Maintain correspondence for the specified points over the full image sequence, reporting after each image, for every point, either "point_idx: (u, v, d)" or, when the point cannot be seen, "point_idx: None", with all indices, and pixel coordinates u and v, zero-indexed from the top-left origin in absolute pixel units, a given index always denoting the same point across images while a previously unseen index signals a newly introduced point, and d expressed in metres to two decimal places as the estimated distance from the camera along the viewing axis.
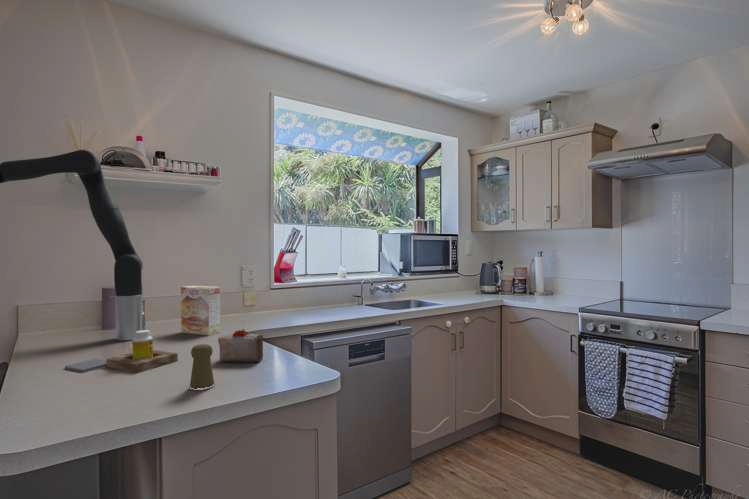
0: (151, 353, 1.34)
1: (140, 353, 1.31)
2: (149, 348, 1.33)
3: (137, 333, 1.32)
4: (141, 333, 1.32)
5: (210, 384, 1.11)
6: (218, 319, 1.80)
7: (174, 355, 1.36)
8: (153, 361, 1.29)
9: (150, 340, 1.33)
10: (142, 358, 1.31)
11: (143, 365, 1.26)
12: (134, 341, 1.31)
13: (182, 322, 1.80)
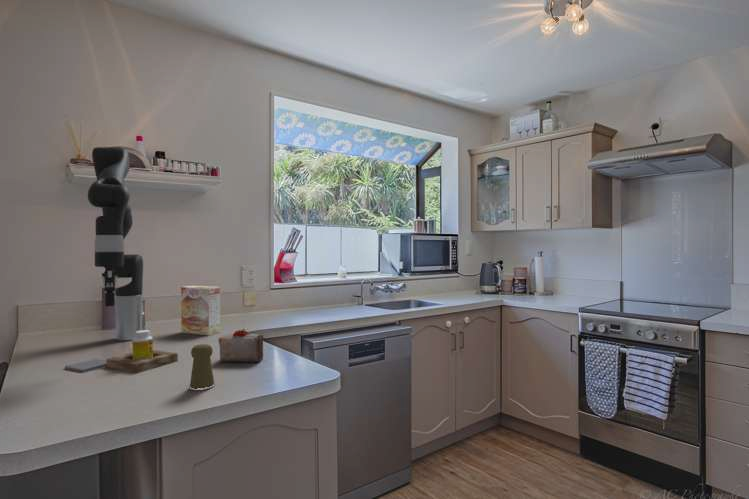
0: (151, 353, 1.34)
1: (140, 353, 1.31)
2: (149, 348, 1.33)
3: (137, 333, 1.32)
4: (141, 333, 1.32)
5: (210, 384, 1.11)
6: (218, 319, 1.80)
7: (174, 355, 1.36)
8: (153, 361, 1.29)
9: (150, 340, 1.33)
10: (142, 358, 1.31)
11: (143, 365, 1.26)
12: (134, 341, 1.31)
13: (182, 322, 1.80)
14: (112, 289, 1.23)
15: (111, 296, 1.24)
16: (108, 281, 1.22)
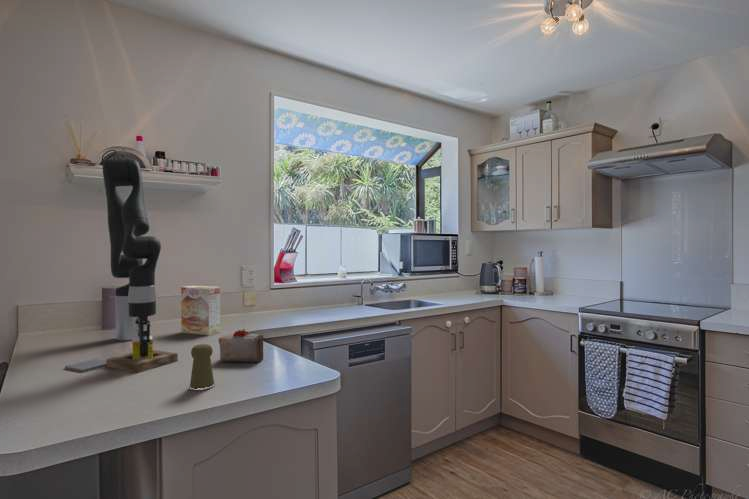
0: (151, 353, 1.34)
1: None
2: (149, 348, 1.33)
3: None
4: None
5: (210, 384, 1.11)
6: (218, 319, 1.80)
7: (174, 355, 1.36)
8: (153, 361, 1.29)
9: (150, 340, 1.33)
10: (142, 358, 1.31)
11: (143, 365, 1.26)
12: (134, 341, 1.31)
13: (182, 322, 1.80)
14: (147, 341, 1.29)
15: (145, 347, 1.31)
16: (143, 335, 1.28)
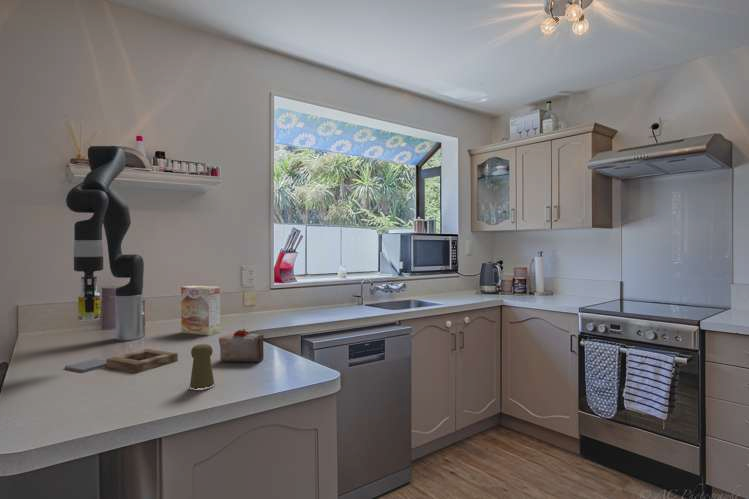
0: (98, 309, 1.31)
1: None
2: (96, 304, 1.30)
3: None
4: None
5: (210, 384, 1.11)
6: (218, 319, 1.80)
7: (174, 355, 1.36)
8: (153, 361, 1.29)
9: (96, 296, 1.30)
10: (87, 314, 1.28)
11: (143, 365, 1.26)
12: (79, 296, 1.28)
13: (182, 322, 1.80)
14: (92, 296, 1.26)
15: (91, 302, 1.28)
16: (88, 289, 1.25)
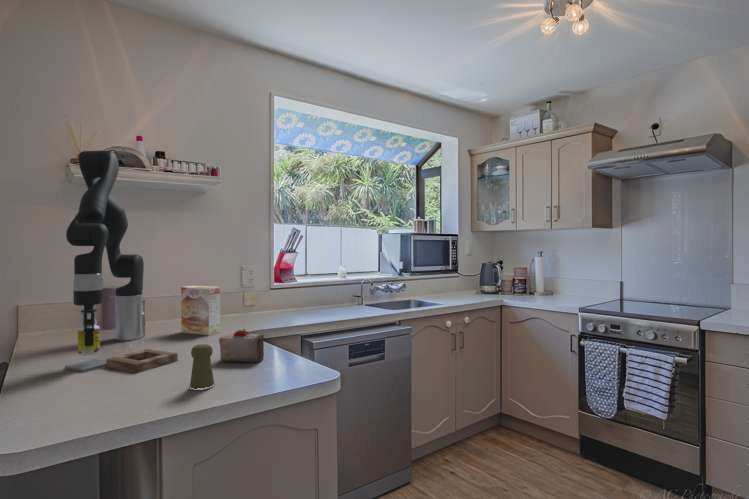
0: (97, 343, 1.31)
1: None
2: (95, 337, 1.30)
3: None
4: None
5: (210, 384, 1.11)
6: (218, 319, 1.80)
7: (174, 355, 1.36)
8: (153, 361, 1.29)
9: (96, 329, 1.30)
10: (87, 347, 1.28)
11: (143, 365, 1.26)
12: (79, 330, 1.28)
13: (182, 322, 1.80)
14: (91, 330, 1.26)
15: (90, 336, 1.28)
16: (87, 323, 1.25)
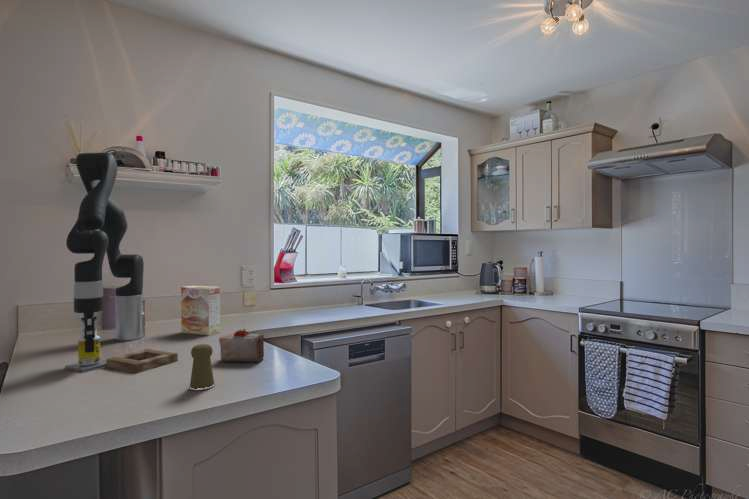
0: (98, 353, 1.31)
1: (85, 352, 1.28)
2: (96, 347, 1.30)
3: None
4: None
5: (210, 384, 1.11)
6: (218, 319, 1.80)
7: (174, 355, 1.36)
8: (153, 361, 1.29)
9: (96, 339, 1.30)
10: (88, 358, 1.28)
11: (143, 365, 1.26)
12: (79, 340, 1.28)
13: (182, 322, 1.80)
14: (92, 336, 1.25)
15: (91, 343, 1.27)
16: (88, 329, 1.25)
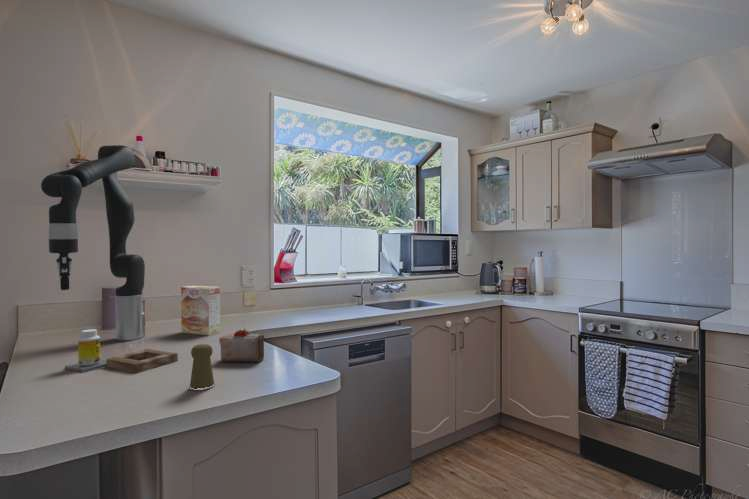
0: (98, 353, 1.31)
1: (85, 353, 1.28)
2: (96, 347, 1.30)
3: (83, 332, 1.29)
4: (87, 332, 1.29)
5: (210, 384, 1.11)
6: (218, 319, 1.80)
7: (174, 355, 1.36)
8: (153, 361, 1.29)
9: (97, 339, 1.30)
10: (88, 358, 1.28)
11: (143, 365, 1.26)
12: (79, 340, 1.28)
13: (182, 322, 1.80)
14: (67, 274, 1.32)
15: (66, 280, 1.33)
16: (63, 267, 1.31)
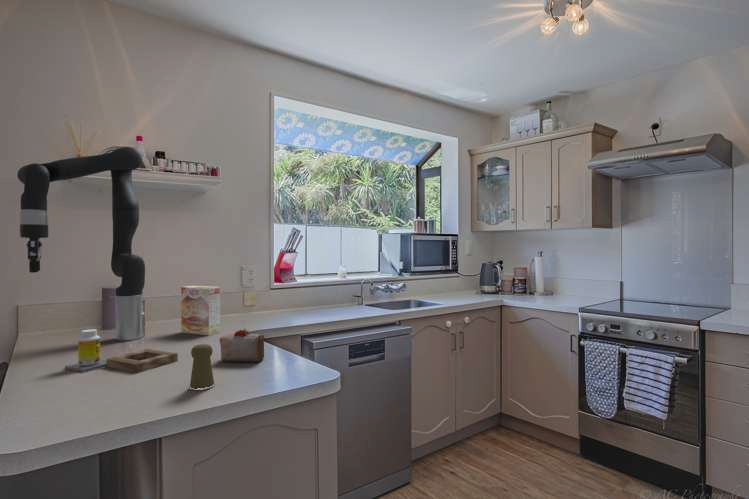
0: (98, 353, 1.31)
1: (85, 353, 1.28)
2: (96, 347, 1.30)
3: (83, 332, 1.29)
4: (87, 332, 1.29)
5: (210, 384, 1.11)
6: (218, 319, 1.80)
7: (174, 355, 1.36)
8: (153, 361, 1.29)
9: (97, 339, 1.30)
10: (88, 358, 1.28)
11: (143, 365, 1.26)
12: (79, 340, 1.28)
13: (182, 322, 1.80)
14: (35, 257, 1.39)
15: (35, 263, 1.41)
16: (31, 250, 1.39)
